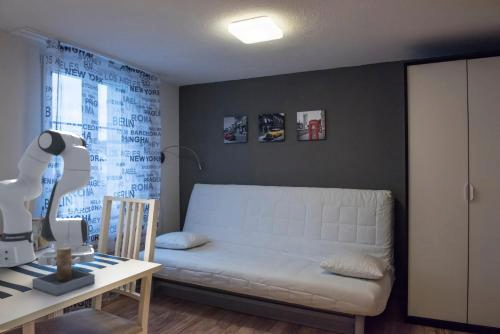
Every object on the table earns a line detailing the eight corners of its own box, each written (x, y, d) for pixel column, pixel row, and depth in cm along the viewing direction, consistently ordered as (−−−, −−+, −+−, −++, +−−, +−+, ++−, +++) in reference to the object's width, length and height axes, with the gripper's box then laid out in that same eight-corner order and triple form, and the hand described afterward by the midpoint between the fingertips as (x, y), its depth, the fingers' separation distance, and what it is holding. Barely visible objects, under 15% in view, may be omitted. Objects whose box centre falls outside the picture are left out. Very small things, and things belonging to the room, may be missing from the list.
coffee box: (41, 245, 194) (41, 216, 194) (51, 246, 193) (50, 217, 192) (27, 249, 185) (27, 219, 185) (37, 250, 184) (37, 220, 183)
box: (56, 296, 125) (56, 286, 125) (32, 288, 132) (32, 278, 132) (94, 283, 138) (94, 274, 138) (70, 276, 146) (70, 267, 146)
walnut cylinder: (55, 282, 132) (55, 251, 132) (58, 278, 137) (58, 247, 136) (70, 281, 133) (69, 250, 133) (72, 277, 138) (72, 247, 138)
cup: (44, 255, 174) (44, 239, 174) (55, 251, 182) (55, 236, 182) (64, 256, 173) (64, 240, 173) (74, 252, 181) (74, 237, 181)
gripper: (42, 247, 144) (32, 257, 131) (96, 244, 150) (92, 253, 137) (42, 262, 144) (32, 273, 131) (96, 259, 150) (92, 269, 137)
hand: (63, 263), depth 134 cm, fingers open, 5 cm apart
